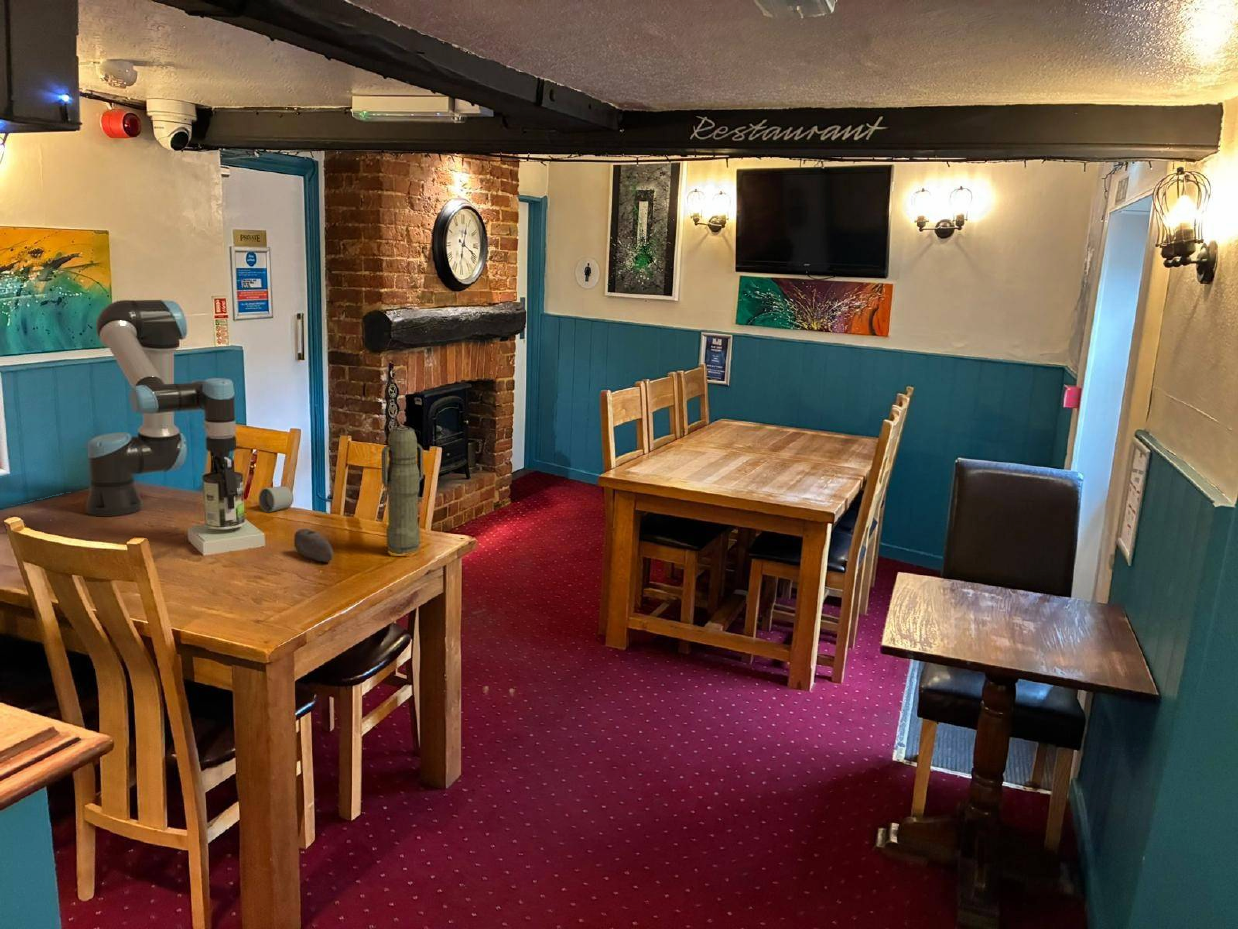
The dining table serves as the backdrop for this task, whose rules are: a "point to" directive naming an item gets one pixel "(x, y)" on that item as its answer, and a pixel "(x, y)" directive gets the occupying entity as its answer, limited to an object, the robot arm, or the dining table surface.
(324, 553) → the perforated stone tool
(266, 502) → the grey cylinder
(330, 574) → the dining table surface
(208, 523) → the coffee can
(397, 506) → the thermos
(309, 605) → the dining table surface
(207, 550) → the plinth
